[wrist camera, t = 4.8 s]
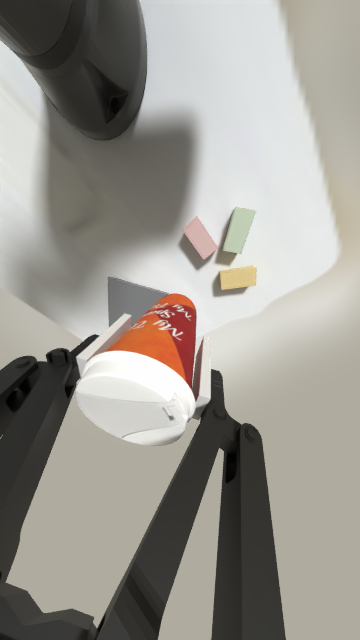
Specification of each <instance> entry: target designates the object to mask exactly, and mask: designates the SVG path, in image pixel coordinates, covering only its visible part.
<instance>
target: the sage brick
mask: <svg viewBox="0 0 360 640" xmlns="http://www.w3.org/2000/svg"><path fill="white" fill-rule="evenodd" d="M255 213H256V211H254V210H249V209H244V208H238V207H236V208H235V209H234V210H233V214H232V217H231V221H230V224H229V228H228V231H227V235H226V238H225V242H224V245H223V251H228V252H233V253H238V254H241V253H242V250H243V247H244V244H245V242H246V239H247V236H248V233H249V230H250V227H251V224H252V222H253V219H254V216H255Z"/></svg>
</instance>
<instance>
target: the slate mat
mask: <svg viewBox="0 0 360 640" xmlns="http://www.w3.org/2000/svg"><path fill="white" fill-rule="evenodd" d="M168 294H169V293H166V292H162V291H159V290H155V289H152V288H148V287H145V286H141V285H138V284H134V283H131V282H127V281H124V280H120V279H117V278H113V277H108V303H109V327H110V326H111V325H112V324H114V323H115V322H116V321H117V320H118V319H119V318H120V317H121V316H122V315H124V314H129V315H132V318H131V327H132V326H133V325H134V324H135V323H136V322H137V321H138V320H139V319H140V318H141V317H142V316H143V315H144V314H145V313H146V312H147V311H148V310H149V309H150V308H152V307H153V306H154V305H155V304H156V303H157V302H158V301H159V300H160V299H162V298H163V297H164V296H166V295H168Z"/></svg>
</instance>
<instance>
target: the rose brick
mask: <svg viewBox="0 0 360 640" xmlns="http://www.w3.org/2000/svg"><path fill="white" fill-rule="evenodd" d="M183 232H184V233H185V234H186V236H187V237H188V239H189V240H190V241H191V243H192V244H193V246H194V247H195V248H196V250H197V251H198V253H199V254H200V255H201V257H202V258H203V260H205V259H206V258H207V257H208V256H209V255H211V254H212V253H213V252H214V251H216V250H217V249H218V247H217V245H216V244H215V242H214V241H213V239H212V238H211V236H210V235H209V233H208V232H207V230H206V229H205V227H204V226H203V224H202V223H201V221H200V220H199V218H198V217H197V216H196V217H195V218H194V219H193V220H192V221H191V222H190V223H189V224H188V225H187V226H186V227H185V228H184V229H183Z"/></svg>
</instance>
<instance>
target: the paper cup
mask: <svg viewBox="0 0 360 640" xmlns="http://www.w3.org/2000/svg"><path fill="white" fill-rule="evenodd" d="M195 340H196V309H195V306H194V304H193V303H192V301H191V300H190V299H189V298H187V297H186V296H184V295H181V294H169V295H166V296H164V297H163V298H162V299H160V300H159V301H158V302H157V303H156V304H155V305H154V306H153V307H152V308H150V309H149V310H148V311H147V312H146V313H145V314H144V315H143V316H142V317H141V318H140V319H139V320H138V321H137V322H136V323H135V324H134V325H133V326H132V327H131V328H130V329H129V330H127V331H126V332H125V333H124V334H123V335H122V336H121V337H120V338H119V339H118V340H117V341H116V342H115V343H114V344H113V345H112V346H111V347H110V348H109V349H108V350H107V351H106V352H104V353H100V354H98V355H96V356H94V357H92V358H91V359H90V360H89V361H88V362H87V363H86V365H85V367H84V369H83V373H82V378H81V380H80V381H79V383H78V385H77V387H76V398H77V402H78V405H79V407H80V409H81V410H82V412H83V413H84V414H85V415H86V416H87V417H88V418H89V419H90V420H91V421H92V422H93V423H95V424H96V425H97V426H98V427H100V428H101V429H103V430H105V431H106V432H108V433H110V434H112V435H114V436H116V437H118V438H121V439H123V440H126V441H129V442H133V443H136V444H142V445H149V446H161V445H166V444H171V443H173V442H175V441H177V440H178V439H179V438H180V437H181V436H182V434H183V433H184V431H185V428H186V425H187V423H188V422H189V420H190V419H191V418H192V416H193V414H194V412H195V405H196V404H195V398H194V395H193V392H192V377H193V364H194V353H195Z"/></svg>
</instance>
